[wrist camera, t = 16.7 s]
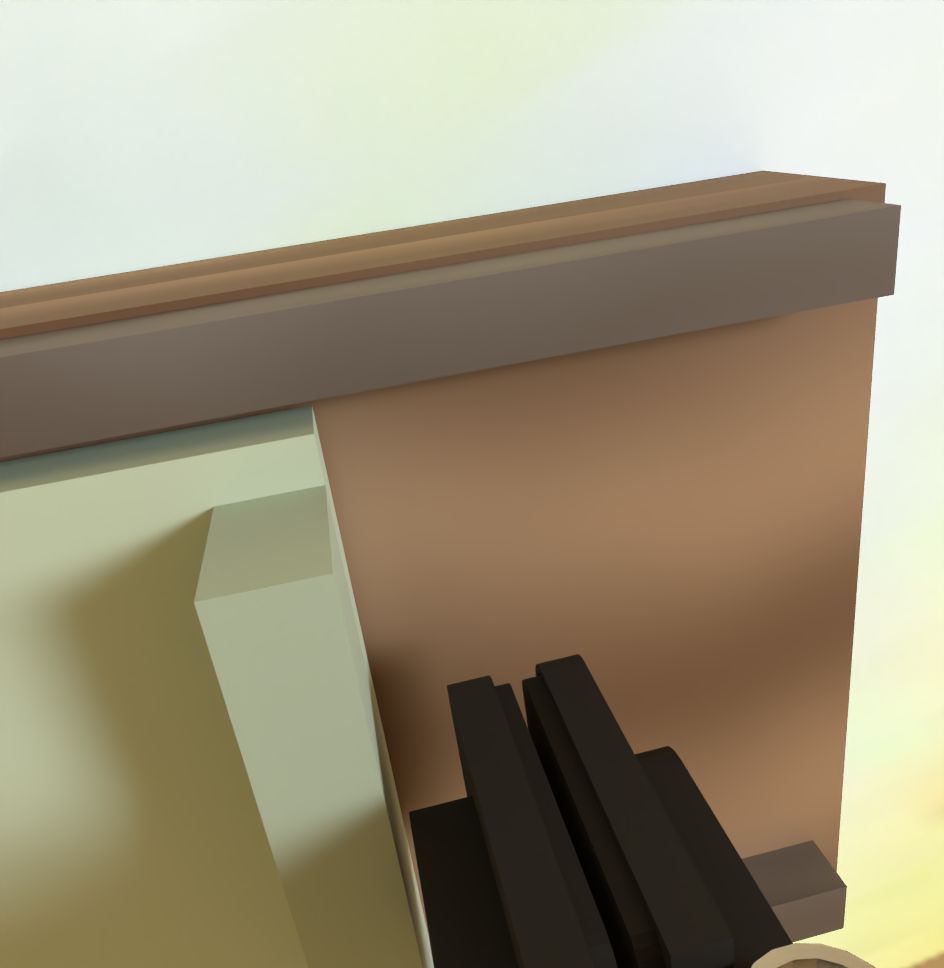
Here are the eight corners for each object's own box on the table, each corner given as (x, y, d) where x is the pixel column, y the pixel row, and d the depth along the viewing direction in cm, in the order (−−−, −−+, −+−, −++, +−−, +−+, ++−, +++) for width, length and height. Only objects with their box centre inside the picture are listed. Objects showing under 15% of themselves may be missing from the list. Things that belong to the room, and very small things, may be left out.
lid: (-447, 543, 9) (-774, 729, 6) (311, 405, 10) (319, 512, 7) (-93, 1078, 13) (-199, 1338, 10) (429, 940, 14) (462, 1142, 11)
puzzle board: (-906, 436, 10) (-1547, 605, 7) (762, 171, 13) (942, 189, 9) (-375, 1047, 15) (-582, 1333, 12) (754, 763, 18) (869, 924, 14)
